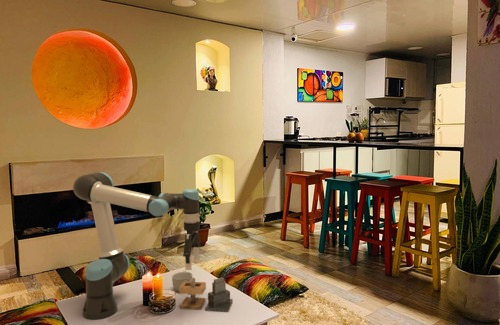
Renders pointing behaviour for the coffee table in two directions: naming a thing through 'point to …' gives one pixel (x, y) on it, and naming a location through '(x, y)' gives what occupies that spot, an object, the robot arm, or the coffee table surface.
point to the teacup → (180, 279)
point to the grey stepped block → (219, 297)
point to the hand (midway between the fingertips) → (192, 264)
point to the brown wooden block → (192, 288)
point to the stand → (192, 300)
